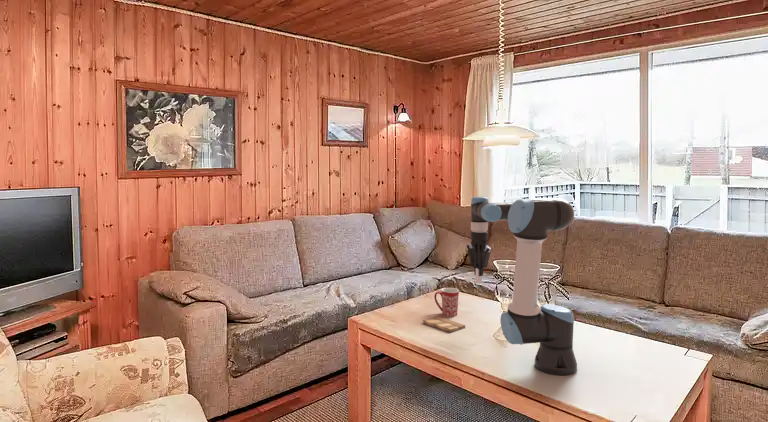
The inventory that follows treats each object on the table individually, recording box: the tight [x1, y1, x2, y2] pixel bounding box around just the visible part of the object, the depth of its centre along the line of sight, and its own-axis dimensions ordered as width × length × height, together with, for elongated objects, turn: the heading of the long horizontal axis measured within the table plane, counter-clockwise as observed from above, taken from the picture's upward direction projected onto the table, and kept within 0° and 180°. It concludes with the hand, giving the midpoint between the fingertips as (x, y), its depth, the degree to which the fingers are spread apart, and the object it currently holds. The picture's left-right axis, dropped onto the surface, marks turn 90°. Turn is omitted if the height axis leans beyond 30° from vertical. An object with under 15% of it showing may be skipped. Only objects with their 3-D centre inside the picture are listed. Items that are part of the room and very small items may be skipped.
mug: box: [433, 287, 460, 318], centre depth 249 cm, size 13×9×14 cm
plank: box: [422, 317, 460, 332], centre depth 231 cm, size 17×6×1 cm, turn 40°
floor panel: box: [421, 315, 467, 334], centre depth 233 cm, size 18×11×2 cm, turn 40°
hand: (478, 282), depth 226 cm, fingers closed
